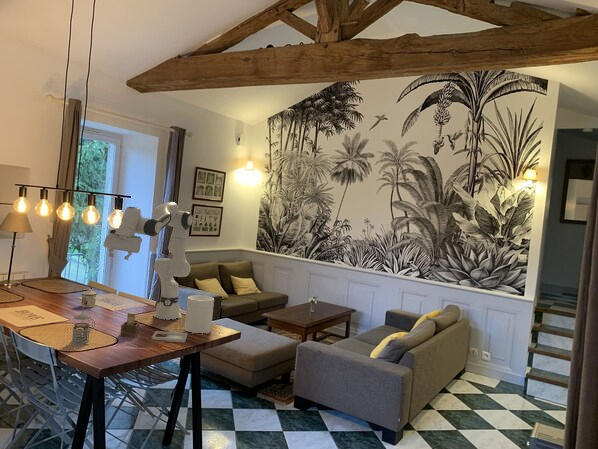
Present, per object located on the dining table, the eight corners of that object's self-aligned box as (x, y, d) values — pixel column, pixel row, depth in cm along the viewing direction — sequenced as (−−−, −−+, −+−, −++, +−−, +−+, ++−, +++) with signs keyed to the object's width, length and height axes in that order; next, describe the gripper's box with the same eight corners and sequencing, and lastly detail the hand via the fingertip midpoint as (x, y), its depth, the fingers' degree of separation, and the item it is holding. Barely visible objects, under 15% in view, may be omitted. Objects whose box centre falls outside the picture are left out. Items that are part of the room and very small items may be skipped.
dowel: (126, 333, 246) (128, 312, 246) (134, 333, 247) (136, 312, 247) (124, 335, 242) (127, 314, 242) (132, 335, 243) (134, 314, 243)
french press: (65, 342, 224) (69, 294, 223) (87, 338, 234) (91, 292, 233) (76, 347, 218) (80, 297, 218) (97, 343, 228) (102, 295, 227)
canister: (190, 325, 279) (193, 294, 278) (214, 328, 277) (217, 297, 277) (180, 331, 263) (183, 298, 262) (206, 335, 261) (209, 302, 261)
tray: (155, 334, 253) (155, 331, 253) (187, 336, 255) (187, 332, 255) (151, 340, 241) (151, 337, 241) (185, 342, 244) (185, 339, 244)
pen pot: (123, 333, 248) (124, 321, 248) (138, 334, 249) (139, 322, 249) (120, 337, 240) (121, 325, 240) (135, 338, 241) (136, 326, 241)
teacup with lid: (78, 305, 298) (79, 288, 298) (90, 304, 306) (92, 287, 306) (87, 309, 292) (89, 292, 292) (100, 307, 299) (102, 290, 299)
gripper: (145, 238, 244) (138, 262, 240) (112, 233, 247) (104, 256, 243) (140, 235, 238) (132, 259, 234) (106, 229, 241) (98, 253, 237)
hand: (118, 258), depth 239 cm, fingers open, 8 cm apart
